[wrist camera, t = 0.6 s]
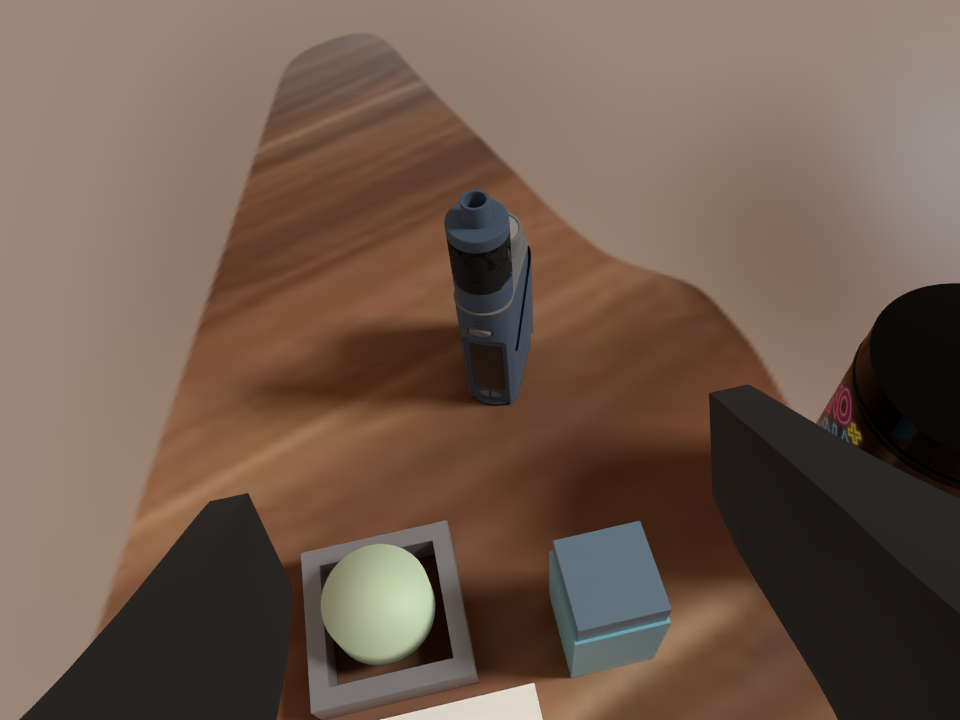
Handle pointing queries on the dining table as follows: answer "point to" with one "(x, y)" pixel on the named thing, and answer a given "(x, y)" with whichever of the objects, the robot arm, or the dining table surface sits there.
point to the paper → (485, 707)
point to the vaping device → (491, 294)
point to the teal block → (607, 598)
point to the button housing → (399, 684)
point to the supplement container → (907, 388)
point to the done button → (378, 604)
